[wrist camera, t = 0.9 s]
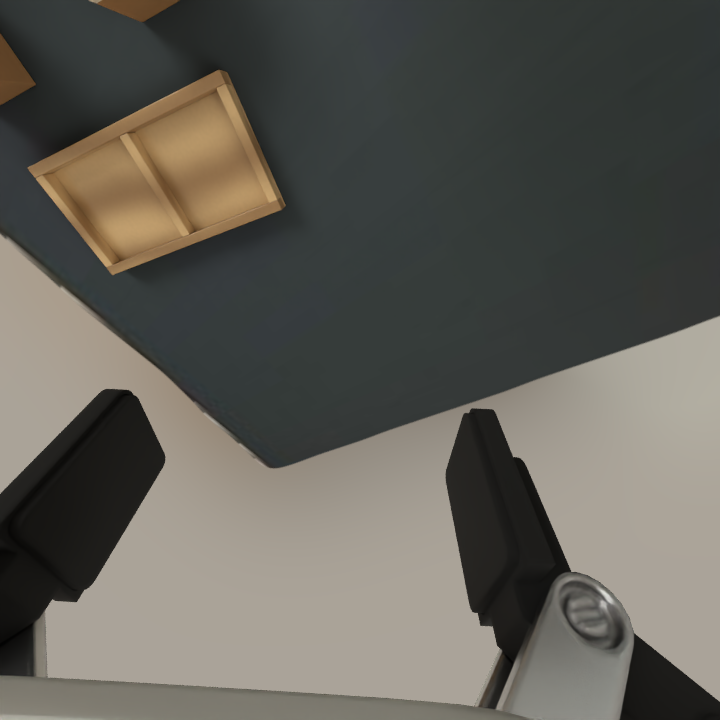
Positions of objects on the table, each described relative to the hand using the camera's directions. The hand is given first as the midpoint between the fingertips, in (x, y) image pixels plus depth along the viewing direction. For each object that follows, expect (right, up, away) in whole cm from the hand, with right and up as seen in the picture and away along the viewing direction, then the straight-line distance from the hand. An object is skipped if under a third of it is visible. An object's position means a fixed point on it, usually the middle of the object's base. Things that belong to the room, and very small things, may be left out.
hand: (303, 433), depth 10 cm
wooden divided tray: (-15, +17, +19) cm, 30 cm away
